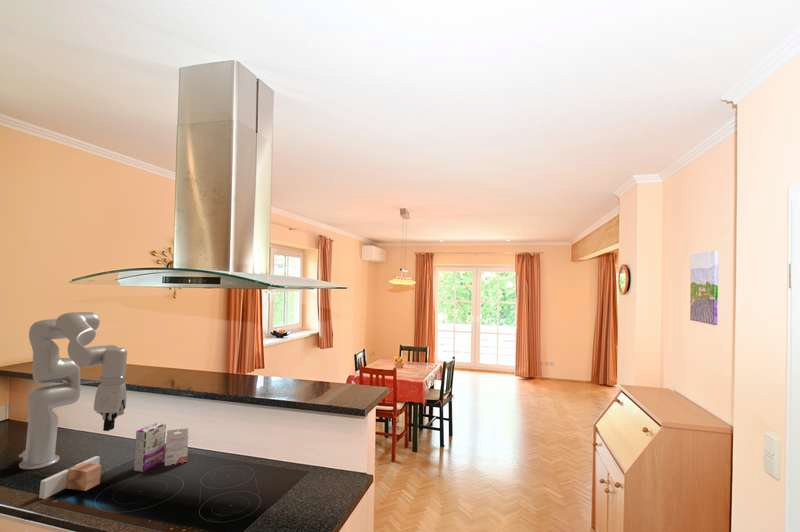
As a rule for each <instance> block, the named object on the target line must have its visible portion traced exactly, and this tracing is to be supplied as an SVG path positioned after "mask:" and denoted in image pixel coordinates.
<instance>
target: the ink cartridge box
mask: <svg viewBox="0 0 800 532" xmlns="http://www.w3.org/2000/svg"><path fill="white" fill-rule="evenodd" d="M188 445H189V428H188V427H187V428H178V429H168V430H167V431H166V436H165V448H164V466H165V467H167V466H173V465H172V464H174V465H178V464H177V463H181V464H184V463H183V462H187V461H188V452H189V451H188V449H189V446H188Z"/></svg>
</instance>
